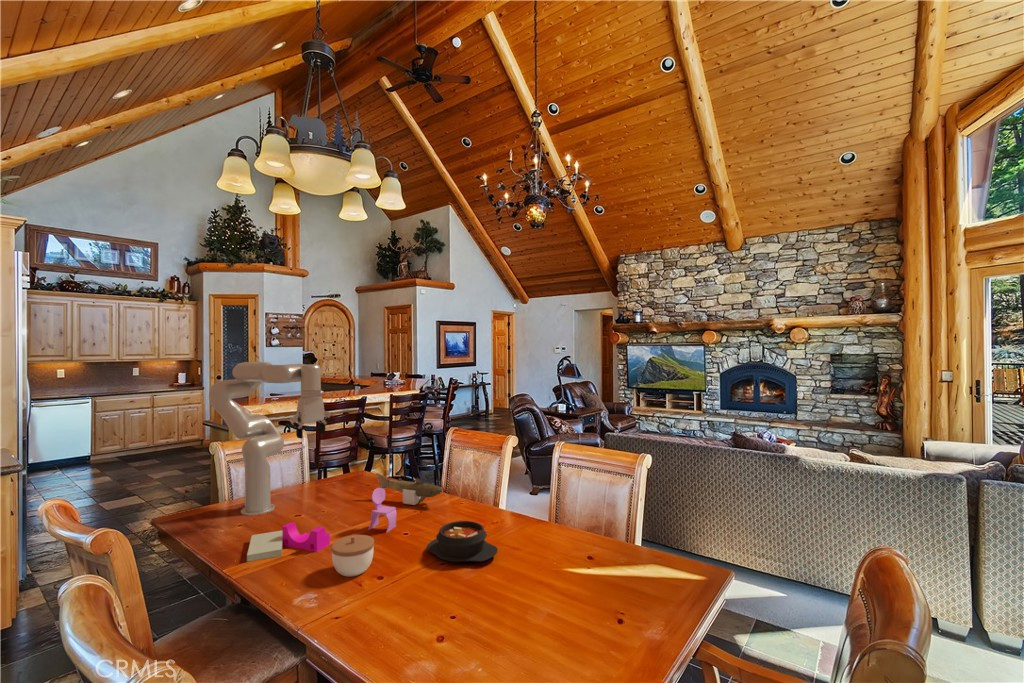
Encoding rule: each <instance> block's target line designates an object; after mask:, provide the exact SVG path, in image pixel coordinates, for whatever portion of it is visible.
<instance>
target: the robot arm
mask: <svg viewBox="0 0 1024 683" xmlns="http://www.w3.org/2000/svg"><path fill="white" fill-rule="evenodd" d="M231 374H232V376H233V377H234V379H224V380H220V381H217V382H214V384H212V385H211V386H210V388H209V392H208V399H209V403H210V404H211V406H212V408H213V409H214V411H216V412H217V414H219V416H220V417H221V418H222V419H223V420H224V422H225V424H226V426H227V427H228V429H229V430H230V431H231V432H232V434H233V435H234V437H235V438H236V439H237V440H246V441H245V442H244V443H243V444H242V447H241V453H242V454H241V455H242V458H243V464H244V508H242V509H241V510H240V514H241V515H242V516H258V514H260V515H264V514H267V512H268V513H270V512H272V511H274V509H275V504H273V503H271V466H270V464H269V462H268V459H267V457H268V458H269V457H271V456H274V455H277V454H278V453H280V452H282V450H283V449H284V447H285V442H284V438H283V436H282V435H281V433H280V431H279V430H278V429H277V427H276V426H275V425H274V424H273V422H272V420H271V419H270V418H269V417H268V416H266V415H264V414H253V415H249V414H248V413H247V411H246V410H245V408H244V407H243V406H242V405H241V404H239V403H238V402H236V401H234V400H235V399H240V398H246V397H249V396H251V395H252V394H253V393H254V392H255V391H256V390H257V389H259V388H258V387H260V386H261V385H262V384H263V383H266V384H289V383H290V384H291V383H298V382H300V398H298V401H297V406H296V414H294V415H293V416H292V417H290V418H289V421H290V424H291V425H292V426H293V427H294V428H295V431H296V432H295V433H296V437H297V439H303V437H304V436H303V432H304V431H303V430H304V429H303V426H304V425H305V424H309V423H315V422H318V423H320V424H318V429H319V433H318V434H320V435H325V434H326V425H327V424H328V422H329V420H330V417H331V415H332V413H331V412H330V411H327V410H325V406H324V401H323V400H324V399H323V397H322V394H324V390H322V388H321V387H322V385H321V382H322V381H321V379H322V377H321V374H322V373H321V366H320V365H319V364H306V363H288V364H287V363H286V364H272V363H270V362H268V361H267V362H262V361H244V362H239V363H238V364H236V365H235V366H234V367H233V369H232V373H231ZM233 399H234V400H233Z"/></svg>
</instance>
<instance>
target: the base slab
mask: <svg viewBox="0 0 1024 683" xmlns="http://www.w3.org/2000/svg"><path fill="white" fill-rule="evenodd" d="M283 547H284V546H283V536H282V530H277V531H270V532H263V533H257V534H252V535H251V538H250V541H249V546H248V550H247V553H246V562H247V563H248V562H255V561H260V560H266V559H274V558H280V557H282V556H283Z"/></svg>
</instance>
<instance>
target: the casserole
mask: <svg viewBox="0 0 1024 683" xmlns="http://www.w3.org/2000/svg"><path fill="white" fill-rule="evenodd" d="M487 536H488V534H487V531H486V529H484V526H483V525H482V524H480V523H478V522H477V521H471V520H460V521H458V520H457V521H453V522H449V523H446V524H444V525H443V526H442V527H440V529H439V531H438V533H437V534H436V537H435V538H434V539H433V540H431V541H430V542H429V543H428V544H427V545H426V550H427V551H428V552H430V553H432V554H434V555H435V556H436V557H438V558H439V559H441V560H444V561H447V562H455V563H458V562H459V563H460V562H462V563H463V562H476V563H479V562H480V563H483V562H486V561H488V560H490V559H492V558H493V557H495V555H497V553H498V551H499V550H498V549H499V548H498V547H497V546H496V545H494V544H491V543H489V542H487V541H486V540H485V539H486V538H487Z"/></svg>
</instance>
